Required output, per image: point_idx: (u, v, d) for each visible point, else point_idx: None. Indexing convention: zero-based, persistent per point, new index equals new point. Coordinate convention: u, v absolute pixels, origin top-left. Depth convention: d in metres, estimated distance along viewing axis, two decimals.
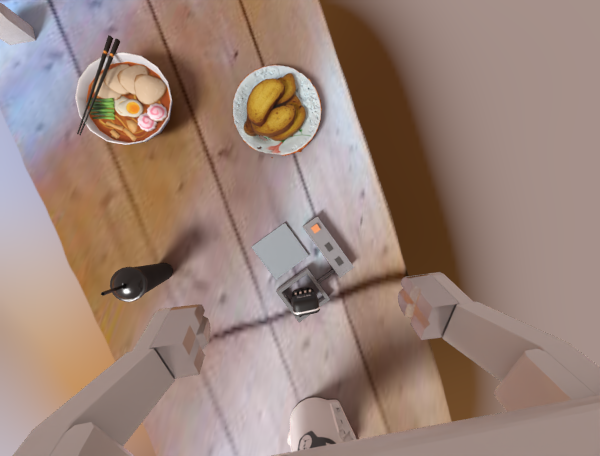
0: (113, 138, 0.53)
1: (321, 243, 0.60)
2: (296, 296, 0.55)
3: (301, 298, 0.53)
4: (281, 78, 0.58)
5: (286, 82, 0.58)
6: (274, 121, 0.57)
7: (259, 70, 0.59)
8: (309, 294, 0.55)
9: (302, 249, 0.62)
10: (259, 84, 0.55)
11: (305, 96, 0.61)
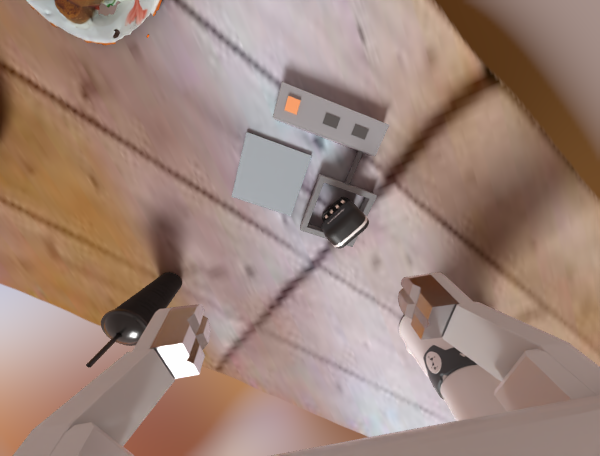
0: None
1: (316, 123, 0.34)
2: (326, 222, 0.35)
3: (333, 221, 0.33)
4: None
5: None
6: None
7: None
8: (342, 209, 0.34)
9: (297, 153, 0.38)
10: None
11: None
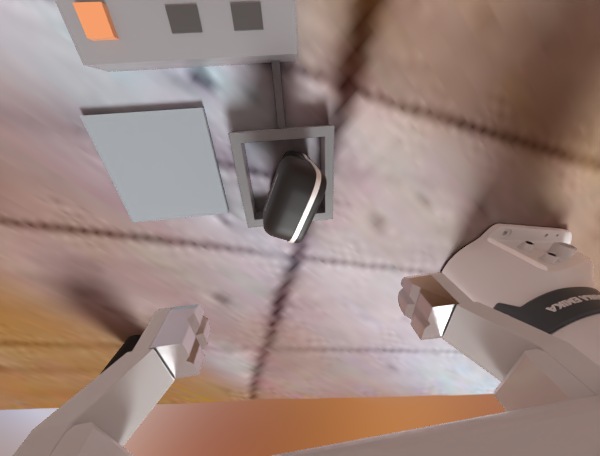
0: None
1: (163, 39, 0.17)
2: (264, 207, 0.20)
3: (268, 204, 0.18)
4: None
5: None
6: None
7: None
8: (276, 175, 0.19)
9: (178, 114, 0.22)
10: None
11: None
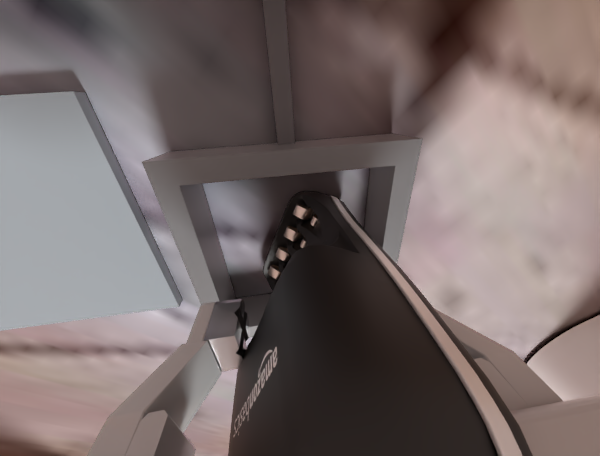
0: None
1: None
2: (237, 391, 0.07)
3: None
4: None
5: None
6: None
7: None
8: (271, 336, 0.05)
9: (8, 109, 0.08)
10: None
11: None
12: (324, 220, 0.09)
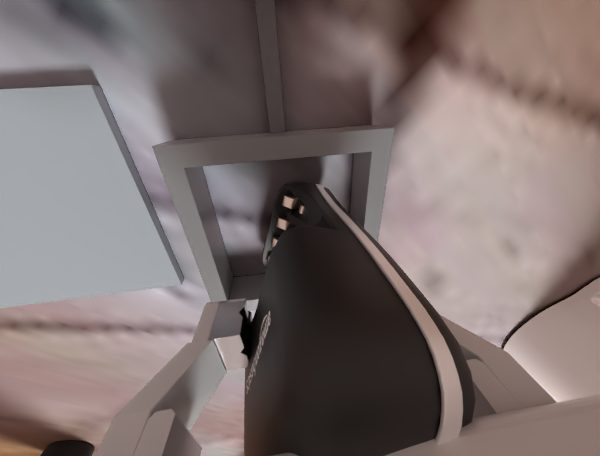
0: None
1: None
2: None
3: (253, 407, 0.06)
4: None
5: None
6: None
7: None
8: (266, 304, 0.06)
9: (33, 100, 0.09)
10: None
11: None
12: (309, 207, 0.10)
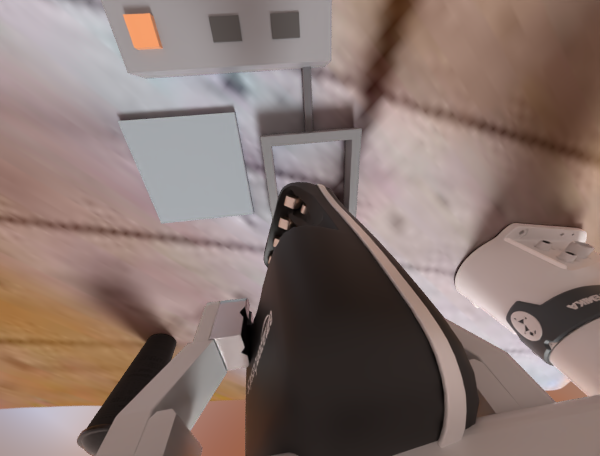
0: None
1: (204, 48, 0.18)
2: None
3: (254, 407, 0.06)
4: None
5: None
6: None
7: None
8: (268, 304, 0.06)
9: (210, 119, 0.23)
10: None
11: None
12: (311, 206, 0.10)
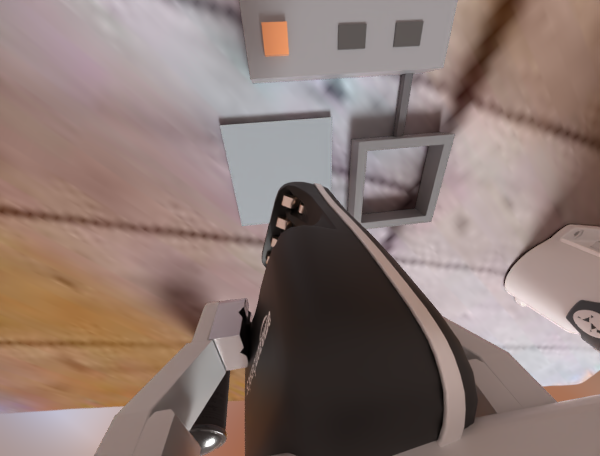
0: None
1: (327, 55, 0.18)
2: None
3: (253, 409, 0.06)
4: None
5: None
6: None
7: None
8: (266, 305, 0.06)
9: (308, 123, 0.23)
10: None
11: None
12: (309, 206, 0.10)
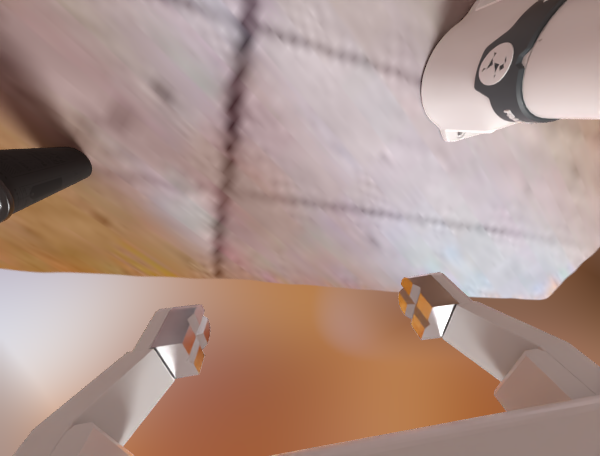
0: None
1: None
2: None
3: None
4: None
5: None
6: None
7: None
8: None
9: None
10: None
11: None
12: None
